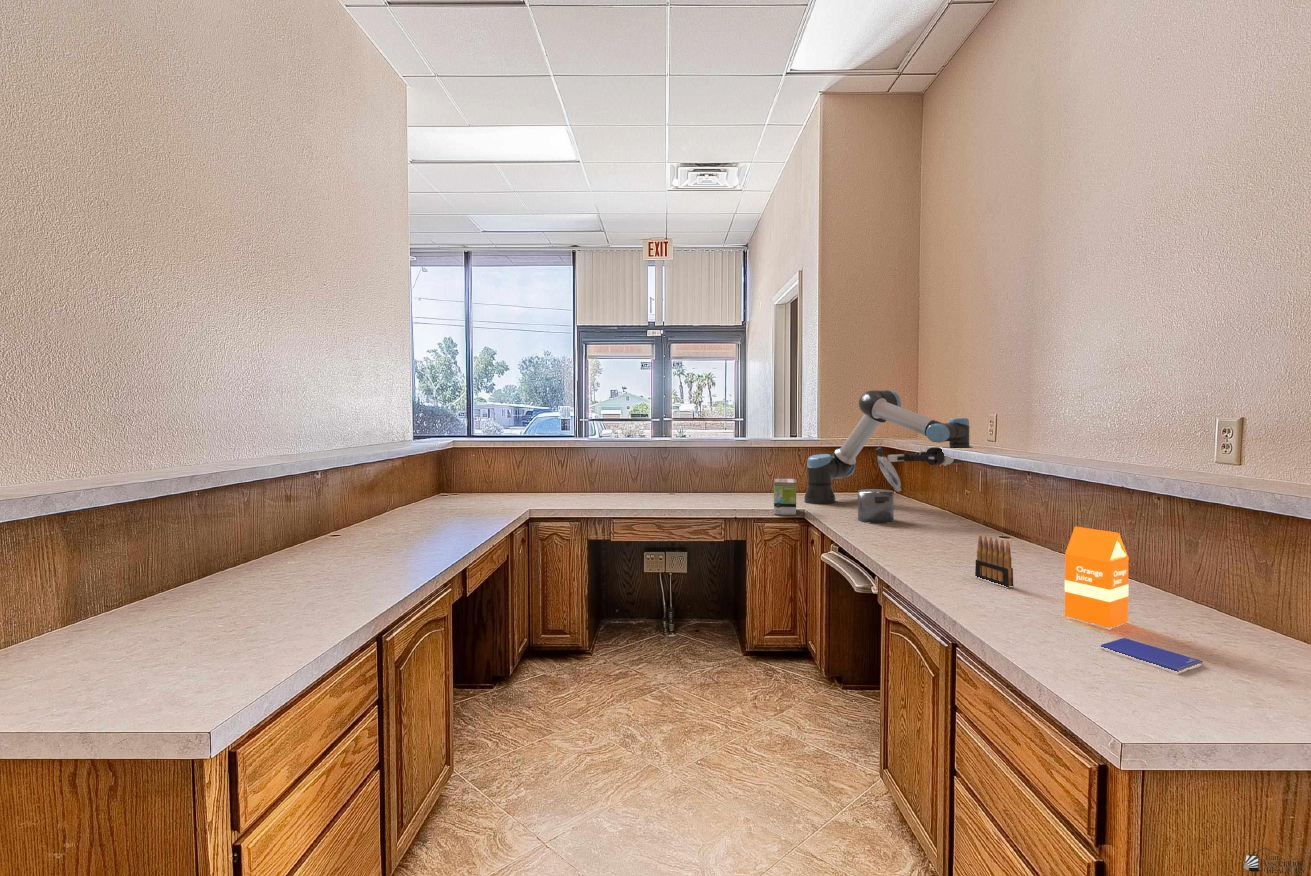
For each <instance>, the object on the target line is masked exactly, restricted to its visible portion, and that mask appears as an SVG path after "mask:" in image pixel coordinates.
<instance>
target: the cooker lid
mask: <svg viewBox="0 0 1311 876" xmlns="http://www.w3.org/2000/svg"><path fill="white" fill-rule="evenodd" d="M874 451H875V453H876V455H877V458H876V459H877V460H876V461H877V464H878V467H879V469H880V470H881V472H882V474H883V476H884V478H885V480H887V482H888V483H889V484H890V486H891V487H892V488H893V490H894V491H896V492H897V493H899V492H901V491H902V488H901V487H902V482H901V479H900V475H899V474H898V471H897V470H896V468H895V467H894V465H893V463H892V462H890V461H889V460H888V456H886V455H885V452H884V450H883V448H882V447H879V446H878V447H877V448H875V449H874Z"/></svg>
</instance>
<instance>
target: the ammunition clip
mask: <svg viewBox="0 0 1311 876" xmlns="http://www.w3.org/2000/svg"><path fill="white" fill-rule="evenodd" d="M1011 551H1012V550H1011V545H1010V542H1009V541H1007V542H1006V543H1005V542H1004V540H1003V539H1001V540H1000V543H999V540H998V539H997V538H995V539H994V541H993V538H992V537H990V538H989V540H988V538H987V536H986V535H985V536H984V538H983V536H982V535H981V534H979V536H978V538H977V548H976V559H975V569H974V570H975V572H974V573H975V574H974V577H975V576H977V577H980V578H982V579H986V580H989V581H991V582H994V583H998V584H1001V585H1004V586H1006V587H1009V586H1013V587H1014V568H1013V567H1012V554H1011V553H1012V552H1011Z"/></svg>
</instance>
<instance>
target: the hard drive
mask: <svg viewBox="0 0 1311 876" xmlns="http://www.w3.org/2000/svg"><path fill="white" fill-rule="evenodd" d="M1100 646H1101V647H1104V648H1108V649H1110V650H1113V651H1115V652H1119V653H1122V654H1125V655H1128V656H1131V657H1134V658H1136V659H1139V660H1143V661H1146V662H1149V663H1153V664H1156V665H1159V666H1161V667H1164V668H1168V669H1171V670H1174V671H1177V672H1179V671H1182V670H1184V669H1186V668H1190V667H1192V666H1195V665H1197V664H1202V663H1204V661H1203V660H1201V659H1197V658H1193V657H1191V656H1187V655H1184V654H1180V653H1176V652H1173V651H1170V650H1167V649H1163V648H1160V647H1156V646H1153V645H1150V644H1147V643H1144V642H1139V641H1137V640H1133V639H1129V638H1126V637H1122V638H1119V639H1116V640H1112V641H1110V642H1109V641H1108V642H1106V643H1103V644H1101V645H1100Z"/></svg>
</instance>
